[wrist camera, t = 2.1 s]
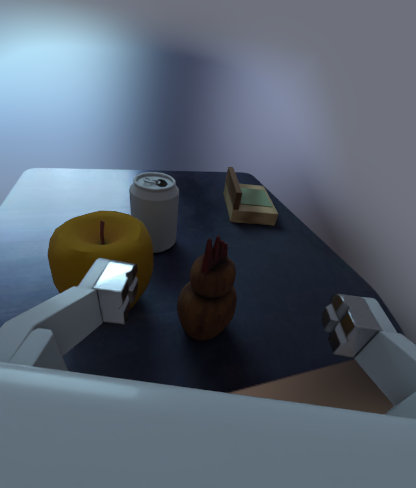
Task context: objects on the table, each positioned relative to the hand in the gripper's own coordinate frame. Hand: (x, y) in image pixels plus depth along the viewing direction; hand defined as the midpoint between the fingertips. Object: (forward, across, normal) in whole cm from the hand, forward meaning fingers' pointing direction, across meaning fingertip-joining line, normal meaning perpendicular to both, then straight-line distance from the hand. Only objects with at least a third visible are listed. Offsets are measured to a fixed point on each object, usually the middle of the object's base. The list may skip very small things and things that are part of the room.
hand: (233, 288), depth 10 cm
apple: (+14, +12, +20) cm, 27 cm away
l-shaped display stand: (+46, -8, +20) cm, 51 cm away
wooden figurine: (+12, 0, +20) cm, 24 cm away
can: (+28, +10, +20) cm, 36 cm away
